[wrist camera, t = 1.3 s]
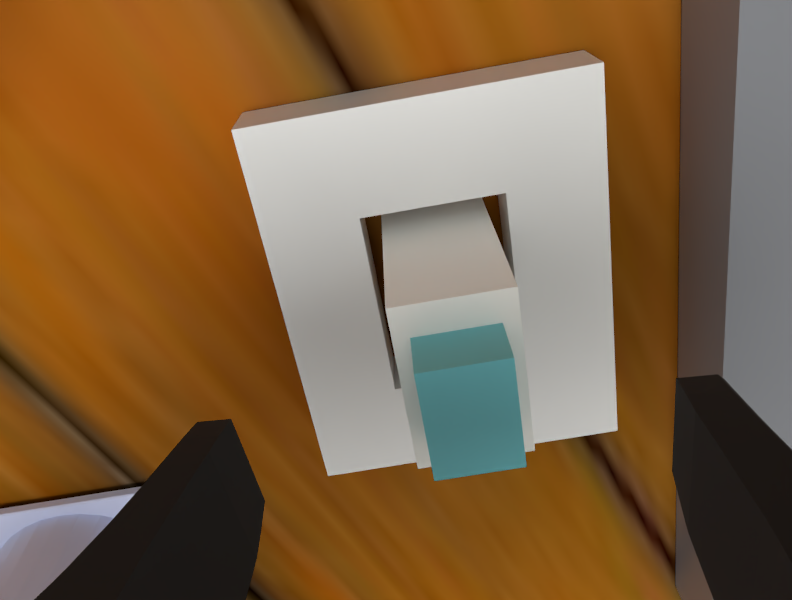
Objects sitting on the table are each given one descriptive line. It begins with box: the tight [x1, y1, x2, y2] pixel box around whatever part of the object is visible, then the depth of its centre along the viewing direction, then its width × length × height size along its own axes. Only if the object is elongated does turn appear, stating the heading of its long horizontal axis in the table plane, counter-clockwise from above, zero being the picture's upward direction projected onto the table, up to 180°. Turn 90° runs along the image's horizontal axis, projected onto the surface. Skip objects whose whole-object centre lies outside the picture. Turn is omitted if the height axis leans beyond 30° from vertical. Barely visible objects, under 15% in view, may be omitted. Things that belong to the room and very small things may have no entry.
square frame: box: [231, 50, 617, 476], centre depth 21 cm, size 11×9×2 cm
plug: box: [381, 197, 535, 481], centre depth 18 cm, size 4×3×7 cm, turn 10°
